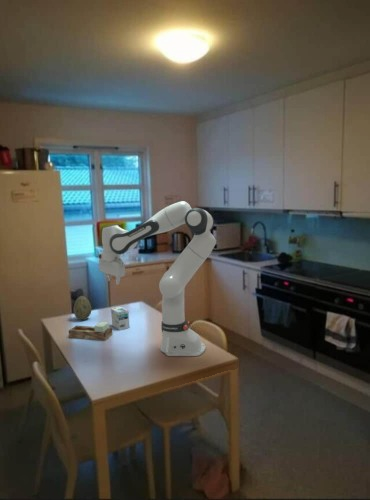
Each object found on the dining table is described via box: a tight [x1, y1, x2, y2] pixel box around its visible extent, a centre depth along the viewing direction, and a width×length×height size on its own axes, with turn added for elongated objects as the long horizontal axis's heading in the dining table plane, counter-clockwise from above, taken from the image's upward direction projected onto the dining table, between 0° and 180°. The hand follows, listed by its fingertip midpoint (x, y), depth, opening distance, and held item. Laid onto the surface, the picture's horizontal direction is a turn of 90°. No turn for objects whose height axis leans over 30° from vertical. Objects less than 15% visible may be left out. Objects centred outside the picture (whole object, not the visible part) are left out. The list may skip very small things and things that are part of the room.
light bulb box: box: [110, 305, 130, 331], centre depth 224 cm, size 11×7×11 cm, turn 34°
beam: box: [68, 324, 113, 341], centre depth 210 cm, size 22×8×4 cm, turn 75°
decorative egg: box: [72, 295, 92, 321], centre depth 238 cm, size 11×11×15 cm
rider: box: [93, 321, 110, 332], centre depth 208 cm, size 5×7×5 cm
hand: (112, 282), depth 199 cm, fingers open, 8 cm apart
